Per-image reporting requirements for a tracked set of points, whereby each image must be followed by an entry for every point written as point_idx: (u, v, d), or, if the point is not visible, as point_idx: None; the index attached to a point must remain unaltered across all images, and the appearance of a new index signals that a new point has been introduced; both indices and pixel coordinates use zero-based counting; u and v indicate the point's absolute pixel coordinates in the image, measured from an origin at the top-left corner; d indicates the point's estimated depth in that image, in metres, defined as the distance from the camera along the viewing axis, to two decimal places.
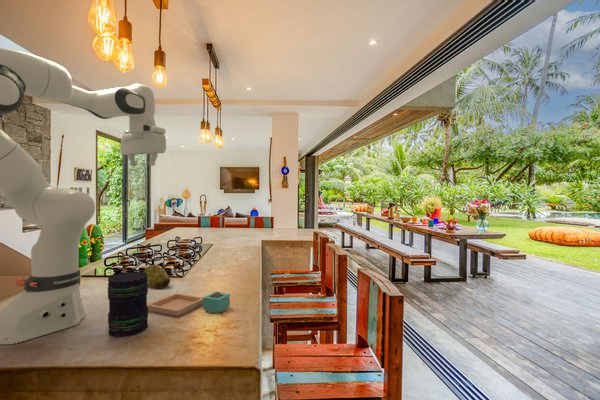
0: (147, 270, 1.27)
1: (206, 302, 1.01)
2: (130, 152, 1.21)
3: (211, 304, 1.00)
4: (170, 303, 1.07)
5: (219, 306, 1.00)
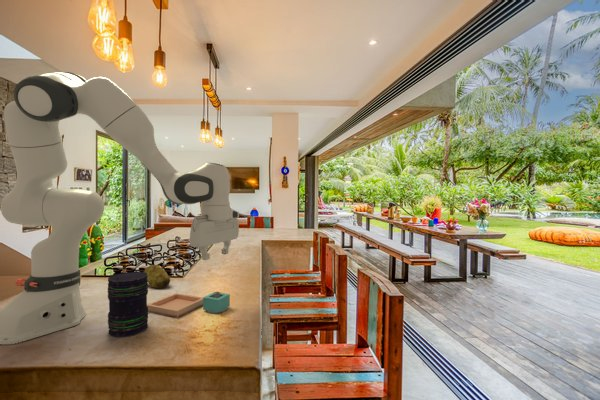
0: (147, 270, 1.27)
1: (206, 302, 1.01)
2: (211, 243, 0.97)
3: (211, 304, 1.00)
4: (170, 303, 1.07)
5: (219, 306, 1.00)
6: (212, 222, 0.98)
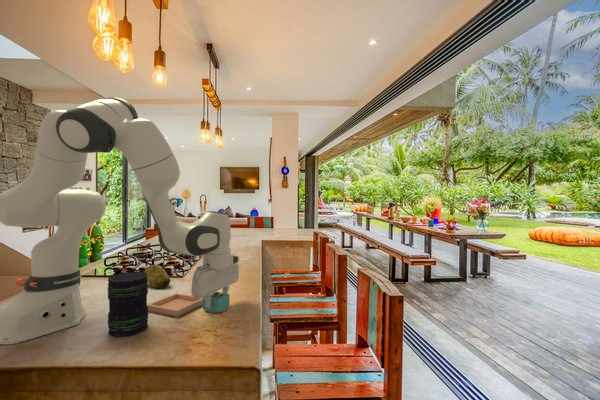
0: (147, 270, 1.27)
1: None
2: (212, 292, 0.99)
3: None
4: (170, 303, 1.07)
5: (219, 306, 1.00)
6: (213, 271, 0.99)
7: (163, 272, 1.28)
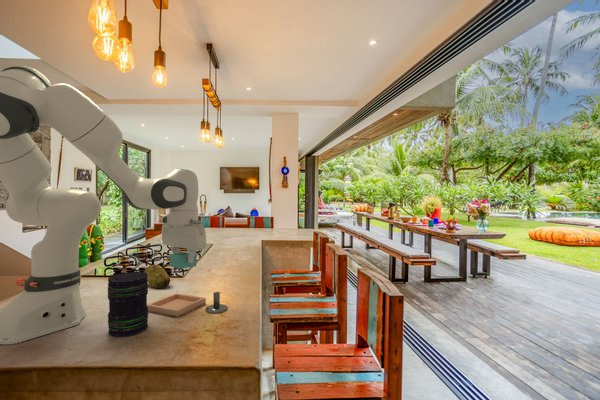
0: (147, 270, 1.27)
1: (183, 260, 1.01)
2: None
3: None
4: (170, 303, 1.07)
5: None
6: None
7: (163, 272, 1.28)
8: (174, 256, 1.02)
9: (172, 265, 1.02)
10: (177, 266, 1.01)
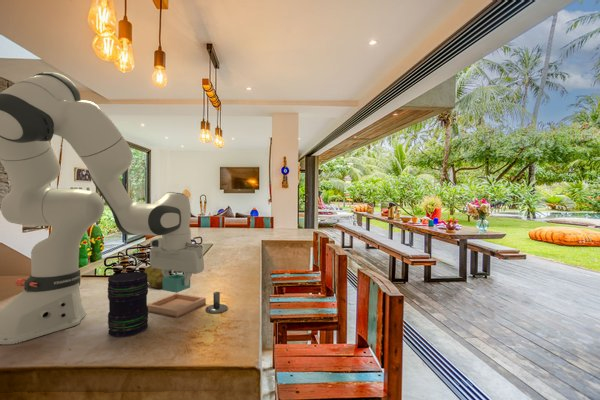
0: (147, 270, 1.27)
1: (179, 283, 1.01)
2: None
3: None
4: (170, 303, 1.07)
5: None
6: None
7: None
8: (169, 280, 1.01)
9: (166, 289, 1.02)
10: (173, 290, 1.01)
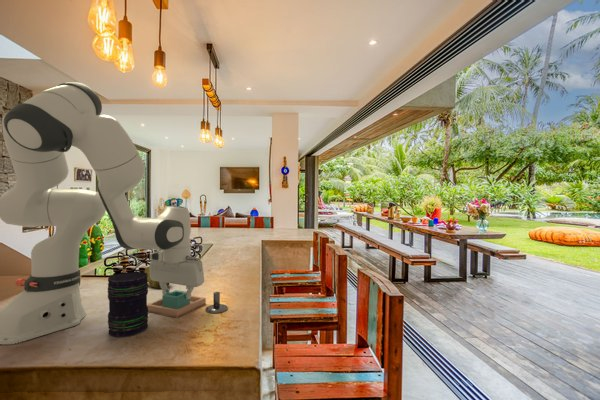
0: (147, 270, 1.27)
1: (179, 301, 1.02)
2: None
3: (184, 300, 1.04)
4: None
5: None
6: None
7: None
8: (169, 298, 1.02)
9: (166, 306, 1.02)
10: (173, 307, 1.01)
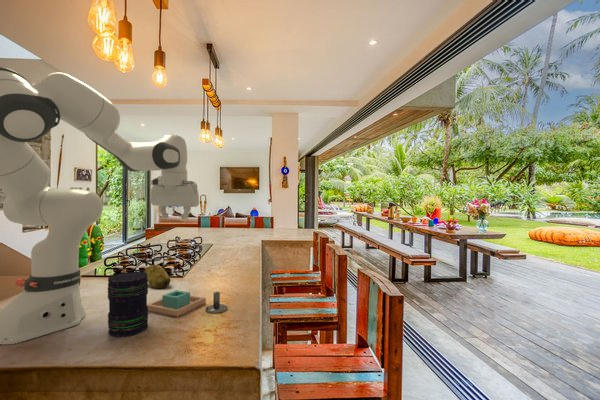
0: (147, 270, 1.27)
1: (179, 301, 1.02)
2: None
3: (184, 300, 1.04)
4: None
5: None
6: None
7: (163, 272, 1.28)
8: (169, 298, 1.02)
9: (166, 306, 1.02)
10: (173, 307, 1.01)
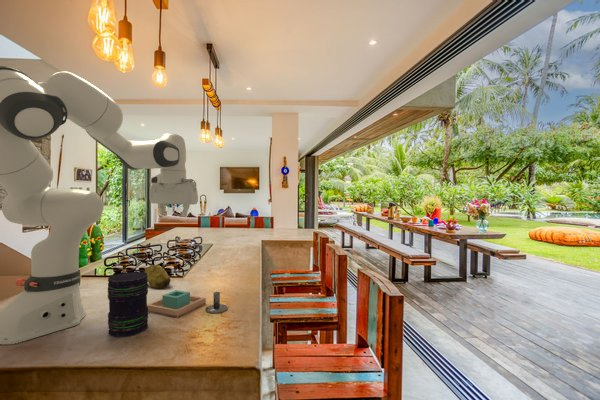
0: (148, 270, 1.27)
1: (179, 301, 1.02)
2: None
3: (184, 300, 1.04)
4: None
5: None
6: None
7: (163, 272, 1.28)
8: (169, 298, 1.02)
9: (166, 306, 1.02)
10: (173, 307, 1.01)
